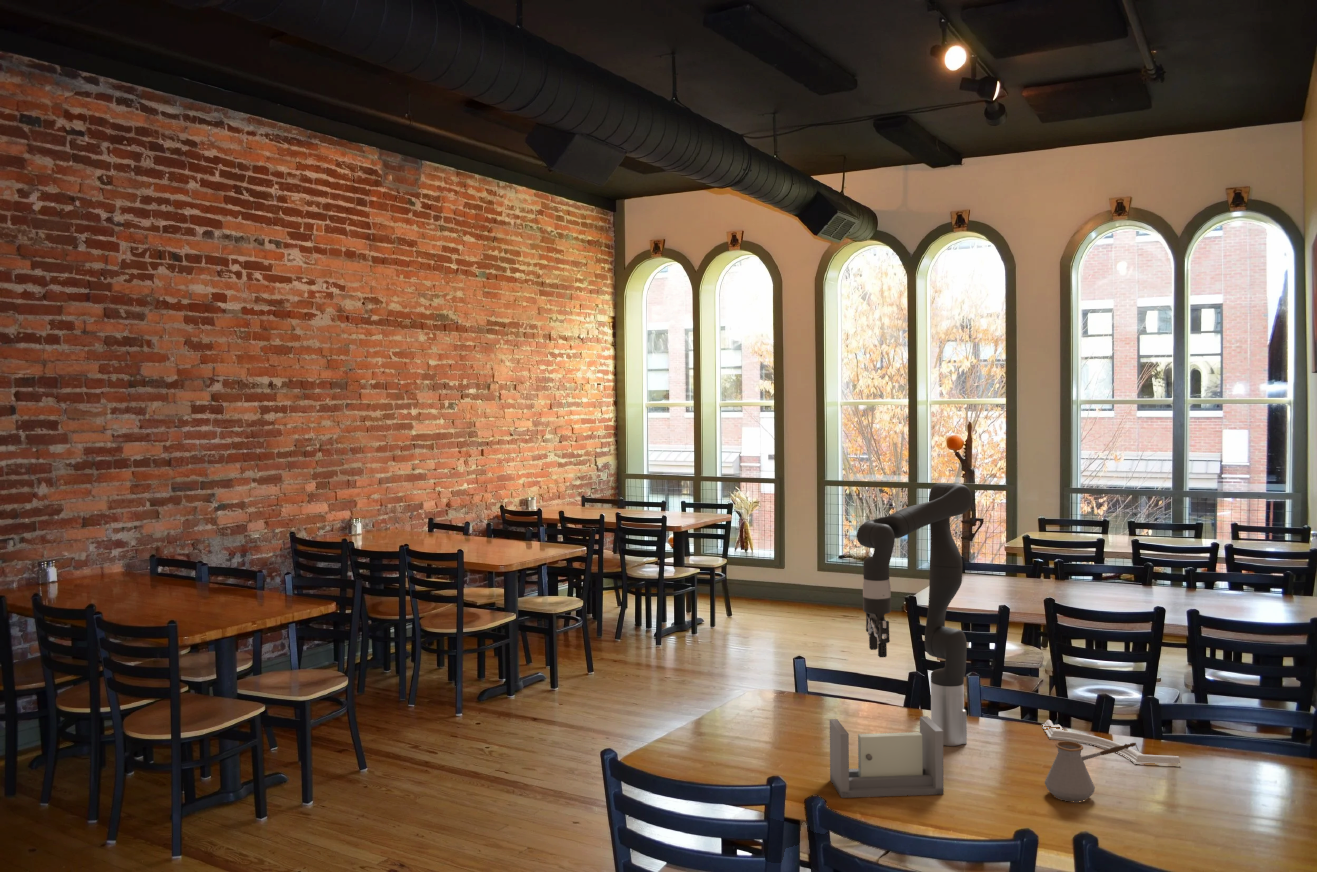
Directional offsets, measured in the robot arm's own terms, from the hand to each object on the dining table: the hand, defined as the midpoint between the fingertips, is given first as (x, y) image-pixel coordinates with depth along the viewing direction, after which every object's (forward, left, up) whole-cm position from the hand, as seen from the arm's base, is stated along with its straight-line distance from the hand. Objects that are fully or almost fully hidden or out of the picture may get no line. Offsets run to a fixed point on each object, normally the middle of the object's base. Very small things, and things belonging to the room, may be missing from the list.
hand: (877, 653), depth 270 cm
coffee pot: (-44, +32, -30) cm, 62 cm away
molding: (-68, -5, -30) cm, 74 cm away
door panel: (+3, +20, -28) cm, 35 cm away
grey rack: (+4, +20, -30) cm, 36 cm away
